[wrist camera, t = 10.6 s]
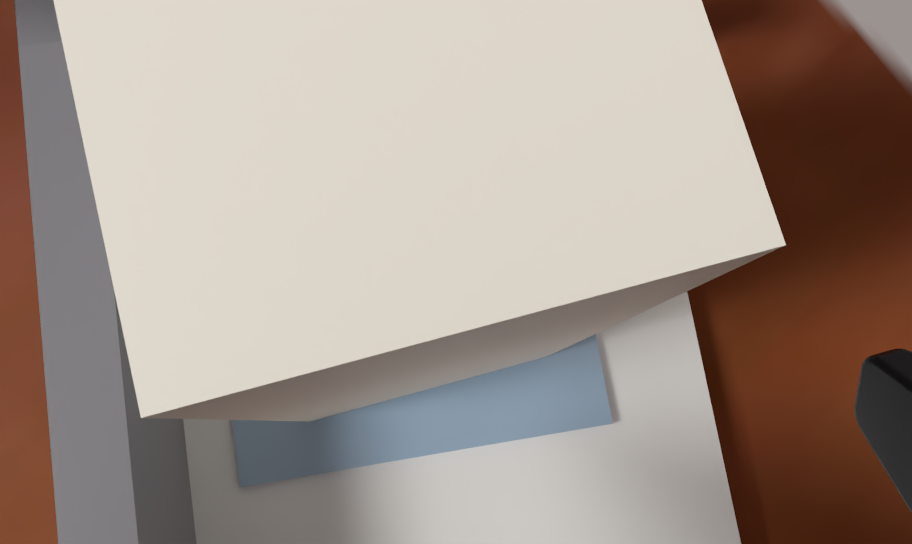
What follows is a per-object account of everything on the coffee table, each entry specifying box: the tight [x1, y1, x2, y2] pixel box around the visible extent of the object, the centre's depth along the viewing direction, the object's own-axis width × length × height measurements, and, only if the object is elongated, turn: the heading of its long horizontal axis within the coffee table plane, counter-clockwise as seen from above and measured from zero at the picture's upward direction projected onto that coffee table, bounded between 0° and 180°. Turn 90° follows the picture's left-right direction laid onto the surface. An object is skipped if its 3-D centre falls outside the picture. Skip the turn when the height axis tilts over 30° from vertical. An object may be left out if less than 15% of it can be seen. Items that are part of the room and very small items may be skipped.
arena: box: [15, 0, 741, 544], centre depth 16 cm, size 17×12×4 cm
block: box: [53, 0, 786, 422], centre depth 12 cm, size 5×5×11 cm
